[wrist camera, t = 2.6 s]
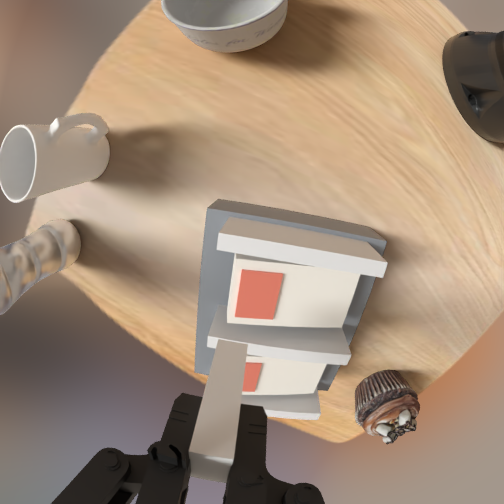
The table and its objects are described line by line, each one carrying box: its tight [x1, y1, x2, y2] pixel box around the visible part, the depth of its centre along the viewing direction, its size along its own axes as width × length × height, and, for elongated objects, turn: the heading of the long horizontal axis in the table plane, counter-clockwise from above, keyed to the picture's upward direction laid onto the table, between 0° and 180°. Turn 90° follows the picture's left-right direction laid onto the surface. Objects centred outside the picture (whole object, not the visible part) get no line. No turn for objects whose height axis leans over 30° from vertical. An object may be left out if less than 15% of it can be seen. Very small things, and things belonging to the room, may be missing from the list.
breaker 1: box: [227, 253, 360, 328], centre depth 21 cm, size 10×6×2 cm, turn 81°
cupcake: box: [355, 370, 420, 444], centre depth 30 cm, size 10×10×10 cm
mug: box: [0, 113, 110, 203], centre depth 20 cm, size 10×7×12 cm, turn 117°
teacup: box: [161, 0, 288, 52], centre depth 16 cm, size 14×11×8 cm
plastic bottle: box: [0, 219, 81, 314], centre depth 20 cm, size 6×7×20 cm
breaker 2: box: [242, 354, 327, 395], centre depth 24 cm, size 10×6×2 cm, turn 81°
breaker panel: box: [195, 199, 388, 420], centre depth 25 cm, size 16×19×10 cm
